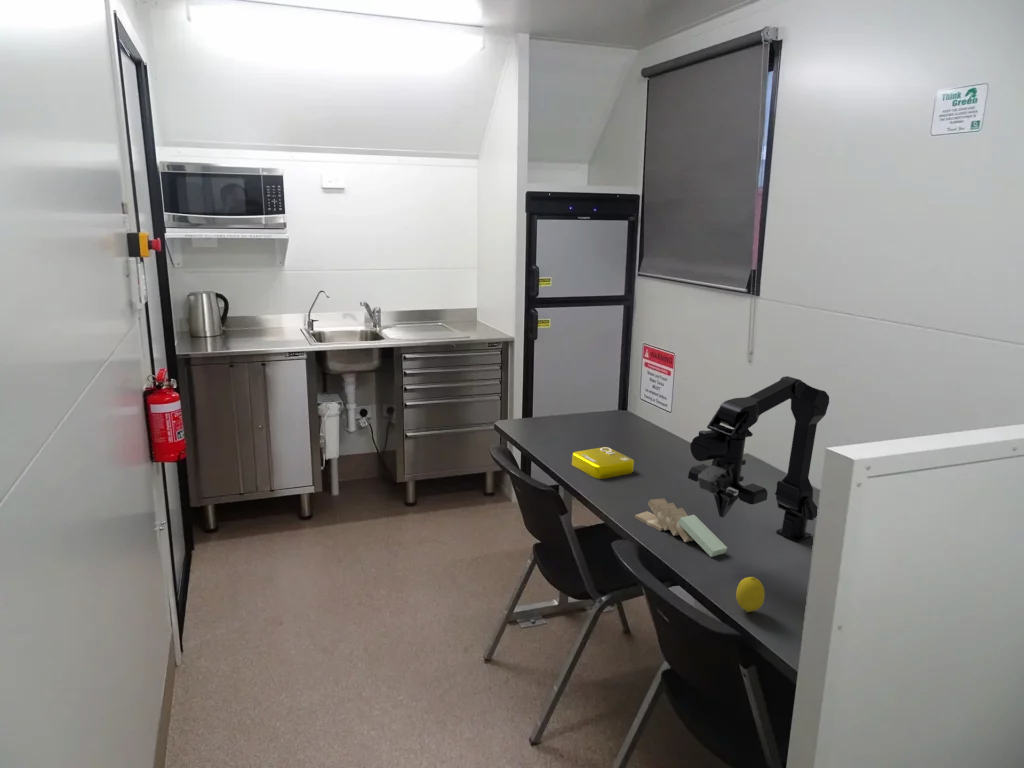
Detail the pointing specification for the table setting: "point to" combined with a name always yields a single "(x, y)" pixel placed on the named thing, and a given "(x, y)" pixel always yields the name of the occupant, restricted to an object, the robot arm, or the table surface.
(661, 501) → the tile
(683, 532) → the tile
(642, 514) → the tile
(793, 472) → the robot arm
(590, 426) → the table surface
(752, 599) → the lemon
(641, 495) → the table surface
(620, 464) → the element tile
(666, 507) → the tile
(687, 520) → the head tile
